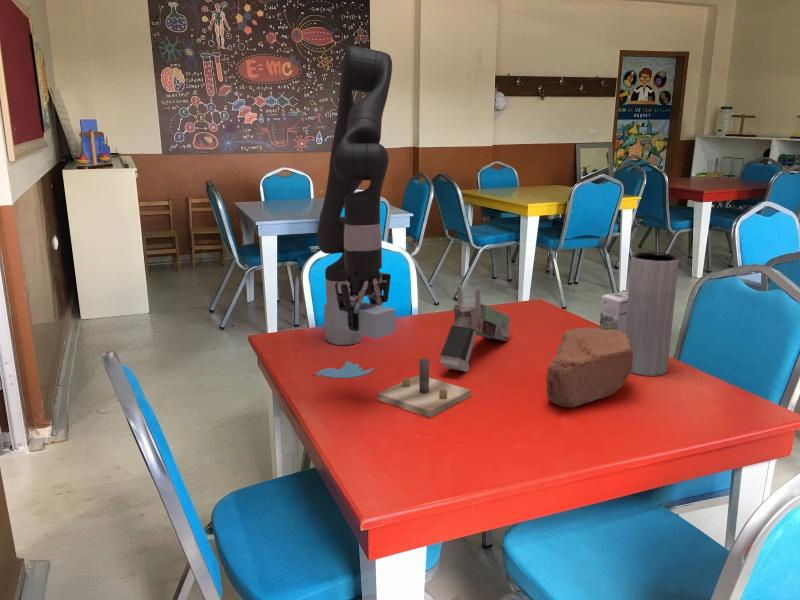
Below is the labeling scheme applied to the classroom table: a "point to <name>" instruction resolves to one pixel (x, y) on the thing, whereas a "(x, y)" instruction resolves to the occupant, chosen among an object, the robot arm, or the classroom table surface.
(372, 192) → the robot arm
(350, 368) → the decorative object
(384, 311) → the grey rectangular block
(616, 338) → the stone
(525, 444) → the classroom table surface
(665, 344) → the vase
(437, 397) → the post base
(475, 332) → the ray gun
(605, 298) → the syrup box
